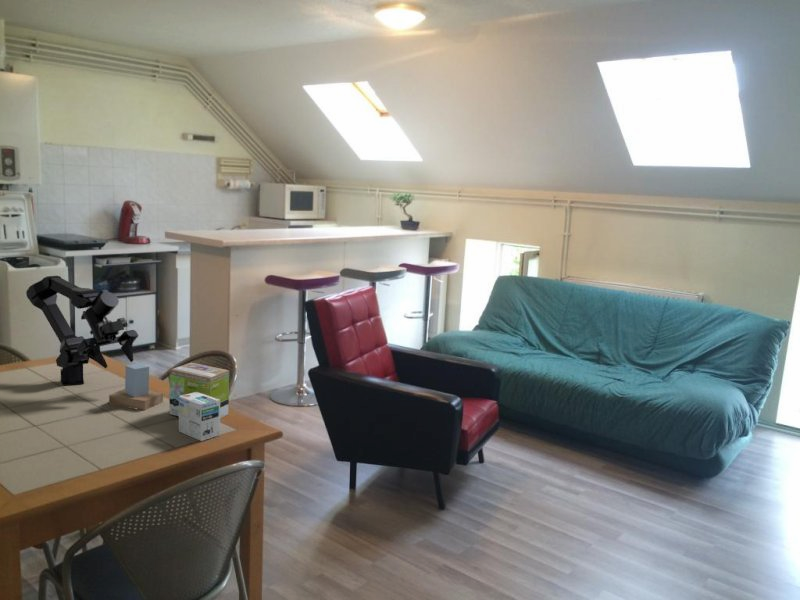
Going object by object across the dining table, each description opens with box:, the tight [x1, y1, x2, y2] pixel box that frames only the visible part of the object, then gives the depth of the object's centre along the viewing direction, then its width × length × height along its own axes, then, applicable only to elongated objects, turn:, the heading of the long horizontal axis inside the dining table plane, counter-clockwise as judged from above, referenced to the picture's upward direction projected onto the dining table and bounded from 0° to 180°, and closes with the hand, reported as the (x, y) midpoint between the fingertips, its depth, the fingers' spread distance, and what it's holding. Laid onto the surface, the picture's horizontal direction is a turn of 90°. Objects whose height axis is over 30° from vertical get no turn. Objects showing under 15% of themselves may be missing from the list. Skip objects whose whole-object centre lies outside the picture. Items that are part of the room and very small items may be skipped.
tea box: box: [168, 361, 230, 419], centre depth 201 cm, size 15×10×15 cm, turn 68°
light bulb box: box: [178, 392, 221, 442], centre depth 187 cm, size 11×7×11 cm, turn 54°
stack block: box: [108, 388, 164, 411], centre depth 209 cm, size 9×13×4 cm
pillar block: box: [124, 362, 150, 397], centre depth 208 cm, size 5×5×9 cm
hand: (119, 364), depth 211 cm, fingers open, 9 cm apart
